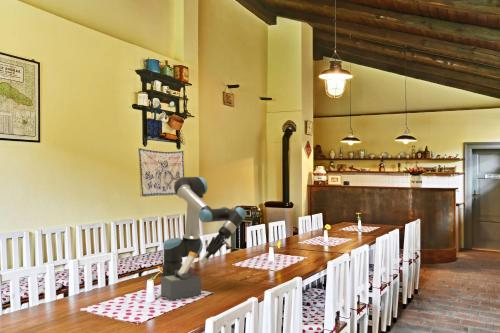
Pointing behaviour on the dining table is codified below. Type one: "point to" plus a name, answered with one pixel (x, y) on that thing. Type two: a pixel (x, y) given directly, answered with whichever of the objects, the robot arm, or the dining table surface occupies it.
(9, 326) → the dining table surface
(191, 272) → the vegetable
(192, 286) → the box
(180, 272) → the lever
